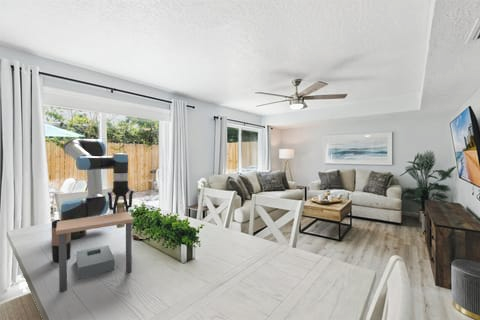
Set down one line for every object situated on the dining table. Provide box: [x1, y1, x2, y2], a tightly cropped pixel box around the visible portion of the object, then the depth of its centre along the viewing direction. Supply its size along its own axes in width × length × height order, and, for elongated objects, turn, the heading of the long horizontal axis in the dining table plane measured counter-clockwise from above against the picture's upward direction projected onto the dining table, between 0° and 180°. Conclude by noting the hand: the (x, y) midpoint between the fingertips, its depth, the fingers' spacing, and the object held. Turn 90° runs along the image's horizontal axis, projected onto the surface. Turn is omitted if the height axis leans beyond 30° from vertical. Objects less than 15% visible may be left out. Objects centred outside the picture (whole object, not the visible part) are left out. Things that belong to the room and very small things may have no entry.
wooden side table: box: [56, 211, 135, 293], centre depth 102 cm, size 15×28×25 cm, turn 128°
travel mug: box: [51, 219, 72, 264], centre depth 115 cm, size 8×8×20 cm
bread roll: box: [132, 234, 140, 241], centre depth 147 cm, size 11×11×5 cm
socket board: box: [75, 244, 115, 280], centre depth 110 cm, size 20×14×5 cm
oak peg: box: [116, 201, 125, 229], centre depth 130 cm, size 4×4×14 cm
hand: (120, 220), depth 130 cm, fingers closed on oak peg, 4 cm apart
